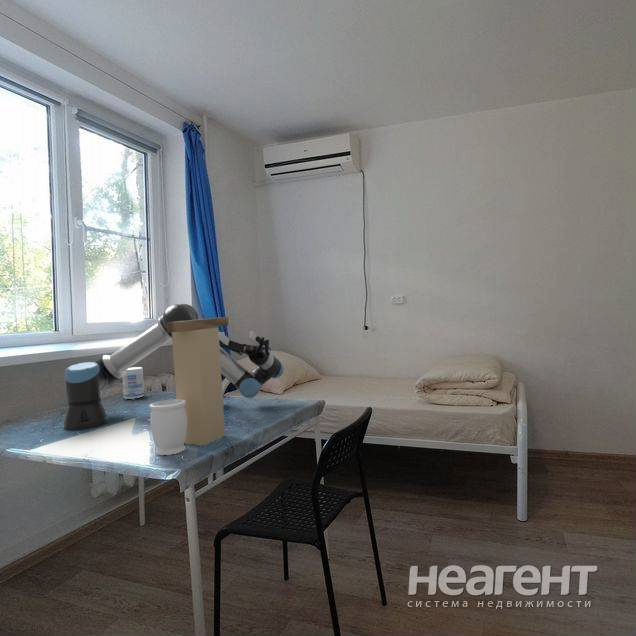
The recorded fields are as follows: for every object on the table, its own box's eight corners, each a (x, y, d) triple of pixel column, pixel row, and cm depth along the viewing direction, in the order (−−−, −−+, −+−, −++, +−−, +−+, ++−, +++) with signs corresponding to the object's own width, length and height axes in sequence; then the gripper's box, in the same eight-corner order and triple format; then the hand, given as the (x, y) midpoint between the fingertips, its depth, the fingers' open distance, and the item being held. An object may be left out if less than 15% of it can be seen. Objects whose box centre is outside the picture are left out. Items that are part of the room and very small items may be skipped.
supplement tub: (129, 400, 227) (127, 370, 227) (120, 399, 234) (118, 369, 233) (148, 397, 235) (146, 367, 234) (138, 395, 241) (136, 366, 240)
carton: (179, 443, 152) (171, 331, 151) (200, 433, 162) (193, 328, 161) (205, 445, 148) (197, 330, 147) (225, 435, 158) (218, 327, 157)
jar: (158, 459, 137) (155, 408, 136) (148, 451, 145) (144, 403, 145) (194, 451, 143) (191, 401, 143) (182, 444, 152) (178, 397, 151)
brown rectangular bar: (167, 332, 145) (166, 322, 144) (218, 325, 169) (218, 317, 169) (178, 332, 143) (177, 322, 143) (228, 325, 168) (227, 317, 168)
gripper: (236, 348, 199) (208, 326, 181) (290, 348, 189) (266, 324, 172) (232, 365, 196) (203, 344, 178) (287, 366, 186) (262, 343, 169)
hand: (234, 334), depth 175 cm, fingers open, 13 cm apart
